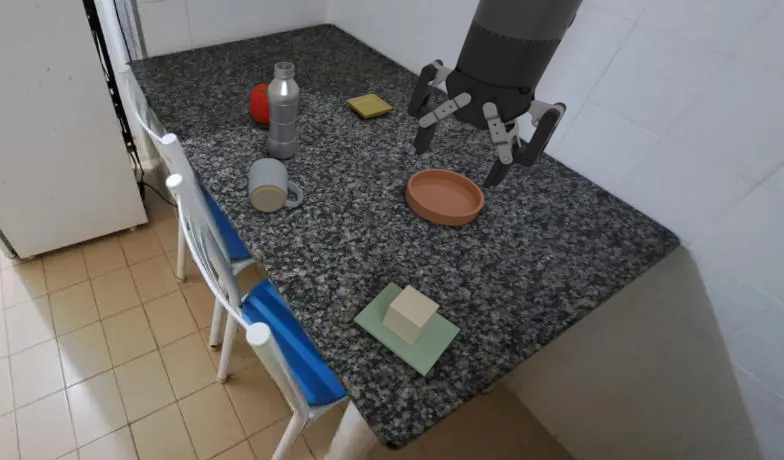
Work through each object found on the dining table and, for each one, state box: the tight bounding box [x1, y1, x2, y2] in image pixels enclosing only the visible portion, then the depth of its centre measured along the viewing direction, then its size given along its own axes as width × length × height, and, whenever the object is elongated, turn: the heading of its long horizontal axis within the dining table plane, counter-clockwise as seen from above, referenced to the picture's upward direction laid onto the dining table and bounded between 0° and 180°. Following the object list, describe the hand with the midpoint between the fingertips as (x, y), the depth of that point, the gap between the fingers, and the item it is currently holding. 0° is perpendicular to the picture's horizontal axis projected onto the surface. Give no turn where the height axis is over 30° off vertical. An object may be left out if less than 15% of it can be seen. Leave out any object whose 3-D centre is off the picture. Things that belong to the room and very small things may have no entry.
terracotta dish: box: [404, 168, 485, 227], centre depth 77 cm, size 14×14×2 cm
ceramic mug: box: [248, 157, 304, 213], centre depth 74 cm, size 11×8×8 cm
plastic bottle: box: [266, 61, 301, 160], centre depth 81 cm, size 6×7×20 cm
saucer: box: [346, 93, 393, 120], centre depth 101 cm, size 9×9×2 cm
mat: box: [353, 281, 461, 377], centre depth 58 cm, size 12×10×1 cm
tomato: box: [248, 83, 270, 126], centre depth 95 cm, size 11×11×9 cm
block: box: [382, 284, 440, 345], centre depth 56 cm, size 5×5×5 cm
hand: (453, 167), depth 46 cm, fingers open, 8 cm apart
